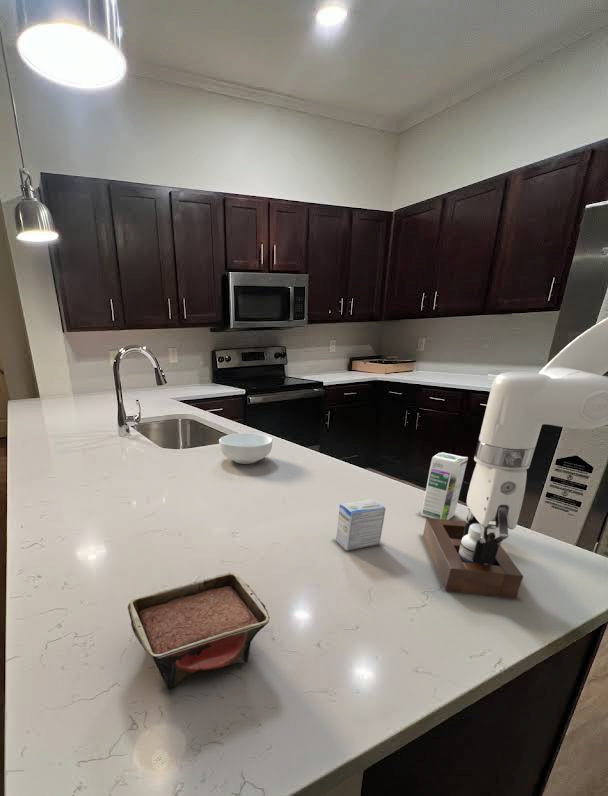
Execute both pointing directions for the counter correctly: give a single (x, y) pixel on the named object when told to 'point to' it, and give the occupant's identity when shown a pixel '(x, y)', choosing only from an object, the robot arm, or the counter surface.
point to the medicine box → (360, 524)
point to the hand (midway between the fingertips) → (476, 552)
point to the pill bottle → (471, 543)
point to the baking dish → (198, 625)
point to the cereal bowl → (245, 447)
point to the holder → (468, 576)
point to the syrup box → (443, 486)
